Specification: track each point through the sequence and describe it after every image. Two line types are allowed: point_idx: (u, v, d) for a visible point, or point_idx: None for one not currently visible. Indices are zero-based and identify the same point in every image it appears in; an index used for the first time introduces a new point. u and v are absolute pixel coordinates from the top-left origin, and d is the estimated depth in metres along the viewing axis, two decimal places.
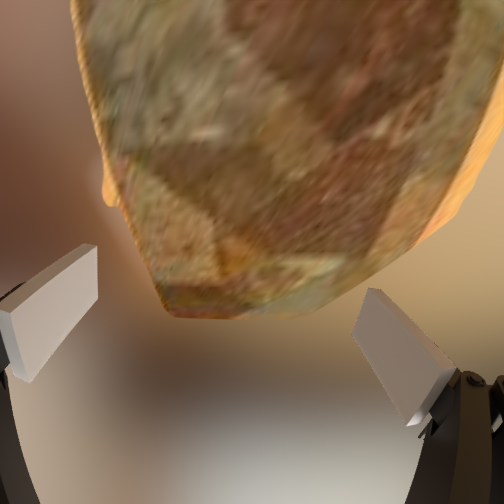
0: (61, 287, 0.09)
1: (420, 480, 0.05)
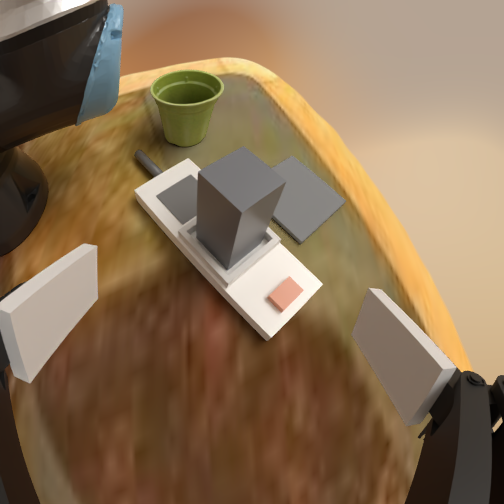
0: (61, 287, 0.09)
1: (420, 480, 0.05)
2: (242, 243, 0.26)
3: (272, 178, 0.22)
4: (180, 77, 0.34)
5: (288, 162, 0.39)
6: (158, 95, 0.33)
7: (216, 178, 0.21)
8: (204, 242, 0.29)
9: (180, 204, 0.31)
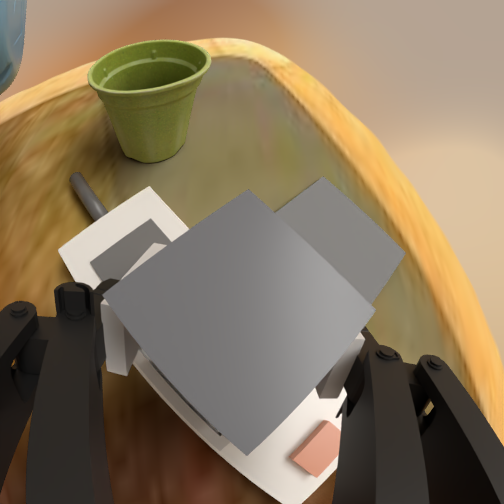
0: None
1: (344, 468, 0.06)
2: None
3: (338, 306, 0.07)
4: (144, 52, 0.19)
5: (318, 188, 0.24)
6: (105, 81, 0.18)
7: (159, 321, 0.06)
8: None
9: None
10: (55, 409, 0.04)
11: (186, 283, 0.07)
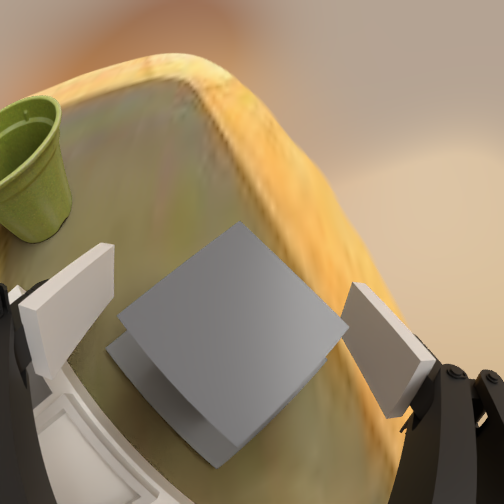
0: (82, 285, 0.09)
1: (403, 476, 0.05)
2: None
3: (316, 324, 0.08)
4: (17, 114, 0.14)
5: None
6: None
7: (165, 338, 0.07)
8: None
9: None
10: None
11: (187, 306, 0.08)
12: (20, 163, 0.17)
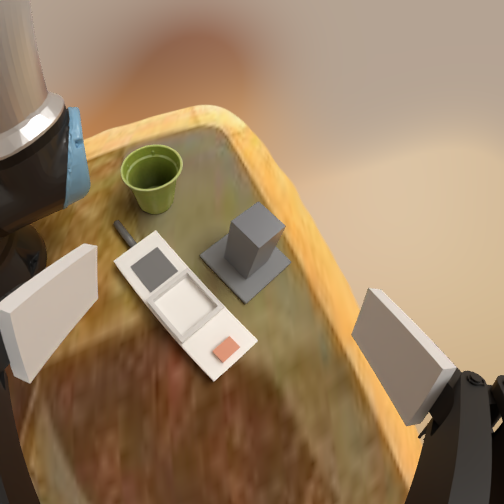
0: (61, 287, 0.09)
1: (420, 480, 0.05)
2: (257, 263, 0.40)
3: (277, 224, 0.36)
4: (148, 152, 0.42)
5: None
6: (129, 172, 0.41)
7: (243, 225, 0.35)
8: (230, 261, 0.43)
9: (148, 275, 0.39)
10: None
11: (247, 219, 0.36)
12: (144, 175, 0.45)
